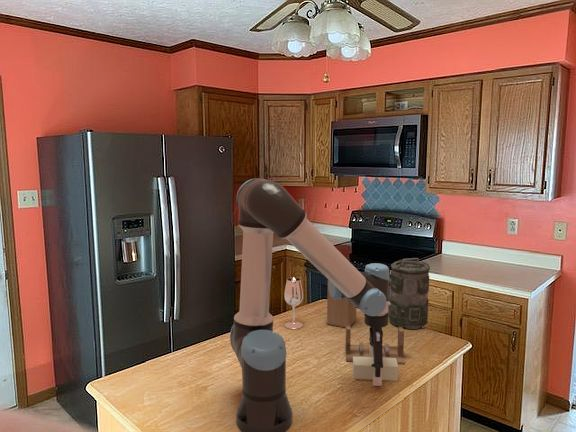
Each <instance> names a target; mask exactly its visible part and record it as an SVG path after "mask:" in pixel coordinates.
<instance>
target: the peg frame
mask: <svg viewBox="0 0 576 432" xmlns="http://www.w3.org/2000/svg"><path fill="white" fill-rule="evenodd" d="M351 334H352V329H351V326H350V325H346V328H345V344H344V345H345V362H347V363H353V357H370V346H371V345H370V344H369V345H367V344H364V343H363V342H361V341H360V342H358V344H351V339H352V338H351ZM404 345H405V329H404V327H400V326H397V346H395V345H393V346H391V345H389V343H387V342H385V343H384V345H382V353H383V358H396V360H397V363H398V365H406V361H405V359H404Z"/></svg>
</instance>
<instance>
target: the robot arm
mask: <svg viewBox="0 0 576 432" xmlns="http://www.w3.org/2000/svg"><path fill="white" fill-rule="evenodd" d="M236 205H237V207H238V223H237V225H238V227H239V228H240V229H241V230H242V231H243V235H242V250H241V251H242V252H241V256H242V257H241V273H240V294H239V296H240V297H239V311H238V312H237V313H236V314H234V316H233V325H232V326H231V329H230V333H229V334H230V335H229V336H230V337H229V339H230V340H229V341H230V342H229V343H230V346H231V349H232V350H233V352H234V354H235V356H236V359H237V361H238V362H239V365H240V368H241V377H242V379H241V380H242V382H241V383H242V387H241V388H242V394H241V398H240V401H239V404H238V407H237V411H236V425H237V427H238V429H239V430H240V431H241V432H285V431H286V430H288V429H289V428H290V427H291V425H292V423H293V410H292V407H291V404H290V401H289V397H288V395H287V389H286V387H287V386H286V385H287V384H286V382H287V381H286V380H287V379H286V378H287V376H286V375H287V373H286V371H287V370H286V369H287V365H286V363H287V361H286V360H287V348H286V342H285V339H284V338H283V336H281V335H280V334H279V333H277V332H276V331H275V332H273V331H274V330H273V329H274V316H273V315H272V313H270V296H271V295H270V293H271V279H272V278H271V277H272V262H273V261H272V259H273V242H274V234H275V235H276V236H278V238H280V239H281V240H287V241H288V242H289V243H290V244H291V245H292V246H293V247H294V248H295V249H296V250H297V251H298V252H299V253H300V254H301V255H302V256H303V257H304V258H305V259H306V260H308V262H309V263H311V264H312V265H313V266H314V267H315V268H316V269H317V271H319V272H320V274H322V275H323V276H324V277H325V278H327V280H328V279H329V283H328V282H327V289H328V288H329V293H330V295H331V297H332V298H333V299H340V300H342V299H346V300H347V301H349V302H350V303H351V304H353V305H354V306H356V309H358V310H359V311H361V312H362V313H363V315H364V318H363V319H364V324H365V325H366V326H367V327H369V338H368V340H369V345H371V346H370V357H374V364H372V365H371V367H373V380H372V386H373V387H382V386H383V385H382V384H383V380H382V368H383V353H382V346H383V342H384V341H383V337H384V331H383V328H385V327H388V325H389V305H391V303H390V281H391V276H390V267H389V266H387V265H386V264H383V263H378V262H377V263H376V262H375V263H369V264H368V263H367V264H366V265H365V268H364V271H361V272H360V271H359V270H358V269H357V268H356V267H355V266H354V264H352V263H351V262H350V261H349V260H348V259H347V258H346V257H345V256H344V255H343V253H342V252H341V251H340V250H338V248H336V247H335V245H334V244H333V243H331V242H330V241H329V240H328V239H327V237H326V236H324V235H323V234H322V232H320V230H319V229H317V228H316V227H315V226H314V224H313V223H312V222H311V221H310V220H309V219H307V218H308V217H307V214H308V213H307V212H306V211H305V209H304V208H302V206H301V205H299V203H298V202H297V201H296V200H295V198H294V197H293V196H292V195H291V194H290V193H289V192H288V191H287V189H285V187H284V186H283V185H281V184H280V183H278V182H276V181H273V180H269V179H266V178H261V177H259V178H256V177H255V178H251V179H249V180H247V181H245V182H244V183H243V184H242V185H241V186H240V187H239V188H238V190H237V194H236Z"/></svg>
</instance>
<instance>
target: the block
mask: <svg viewBox="0 0 576 432" xmlns="http://www.w3.org/2000/svg"><path fill="white" fill-rule="evenodd" d="M328 283H329V279H328V278H327V284H328ZM326 291H327V296H326V297H327V298H326V300H327V301H326V302H327V303H326V306H327V307H326V310H327V311H326V320H327V321H326V322H327V325H330V326H334V327H339V328H340V327H341V328H345V329H346V325H350V327H351V326H353V324H354V323H355V322H356V321H357V307H356V306H354V305H353V304H351V303H350V302H349V301H347V300H346V299H342V300H340V299H333V298H332V297H331V295H330V293H329V288H328V287H327V290H326Z"/></svg>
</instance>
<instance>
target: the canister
mask: <svg viewBox="0 0 576 432" xmlns="http://www.w3.org/2000/svg"><path fill="white" fill-rule="evenodd" d="M390 268H391V273H390V281H389V290H390V297H389V302H390V303H391V305H388V321H389V322H390V323H391V324H392V325H393V326H395V327H403V328H405V329H406V330H418V329H420V328H422V327H424V326H426V325H427V324H428V317H429V316H428V315H429V299H428V296H429V289H430V288H429V287H430V274H429V273H430V270H431V267H430V265H429V264H428V263H427V262H425V261H422V260H421V261H420V259H419V257H412V258H403V259H399V260H397V261H394V262H392V263H391V264H390Z"/></svg>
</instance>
